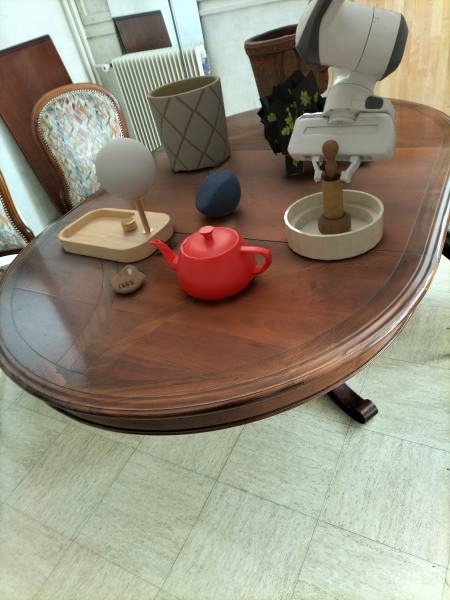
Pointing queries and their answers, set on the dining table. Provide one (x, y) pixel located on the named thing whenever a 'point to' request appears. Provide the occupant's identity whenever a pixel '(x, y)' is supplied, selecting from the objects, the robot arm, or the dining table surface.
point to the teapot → (214, 262)
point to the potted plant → (289, 113)
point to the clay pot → (279, 60)
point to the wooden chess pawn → (332, 195)
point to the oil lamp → (127, 280)
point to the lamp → (119, 222)
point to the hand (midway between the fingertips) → (331, 181)
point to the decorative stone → (218, 194)
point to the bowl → (336, 246)
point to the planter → (191, 122)
